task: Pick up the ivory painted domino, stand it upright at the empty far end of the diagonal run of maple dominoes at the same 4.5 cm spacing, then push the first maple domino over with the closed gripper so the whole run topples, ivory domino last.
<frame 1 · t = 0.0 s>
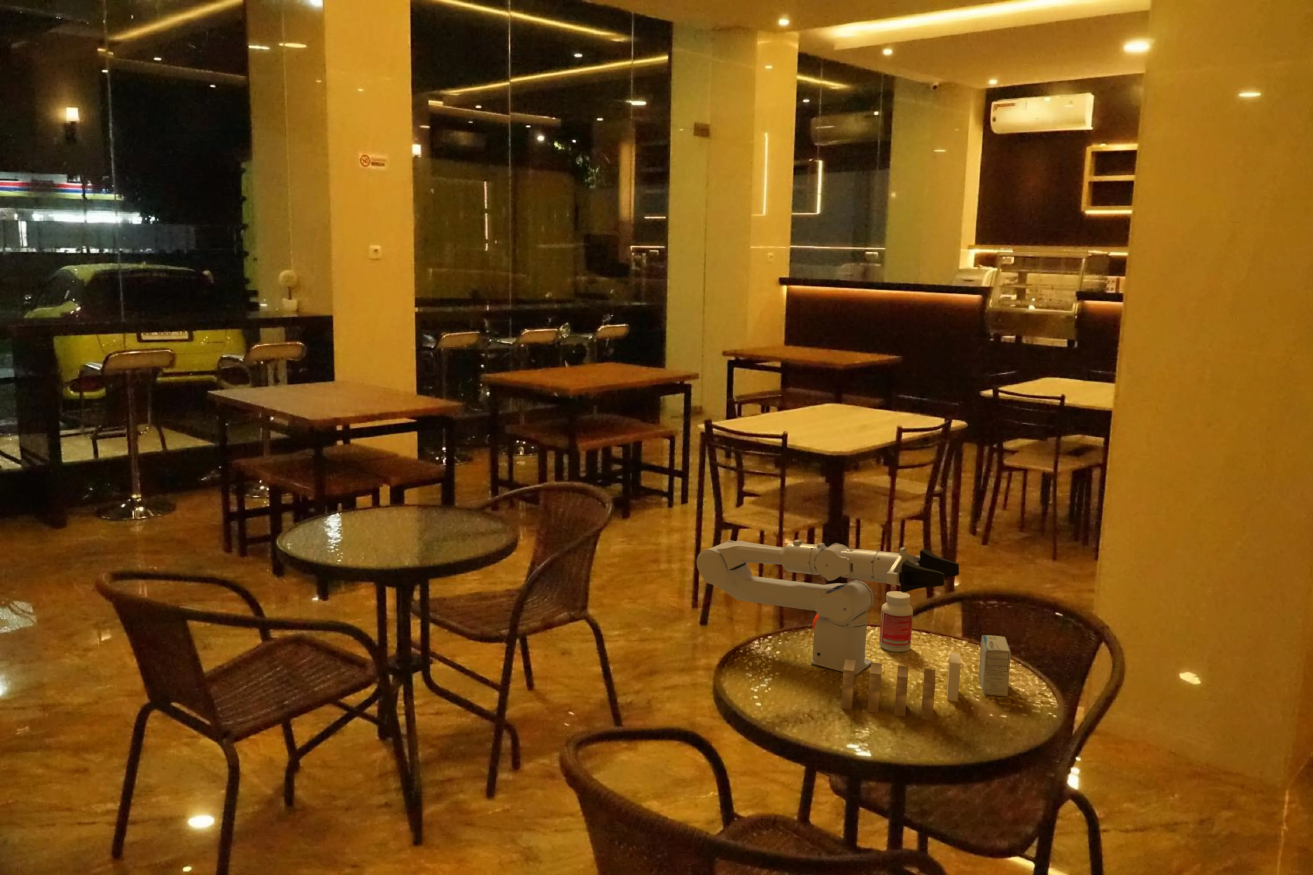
hand: (951, 574, 185), 22 cm above the table, tool horizontal, fingers open, 7 cm apart
domino 3: (900, 709, 179), on the table
domino 2: (873, 706, 180), on the table
medicine box: (992, 688, 190), on the table
pill bottle: (894, 648, 209), on the table
end domino: (952, 695, 186), on the table
domino 4: (926, 713, 178), on the table
domino 1: (847, 702, 182), on the table
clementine: (829, 641, 211), on the table
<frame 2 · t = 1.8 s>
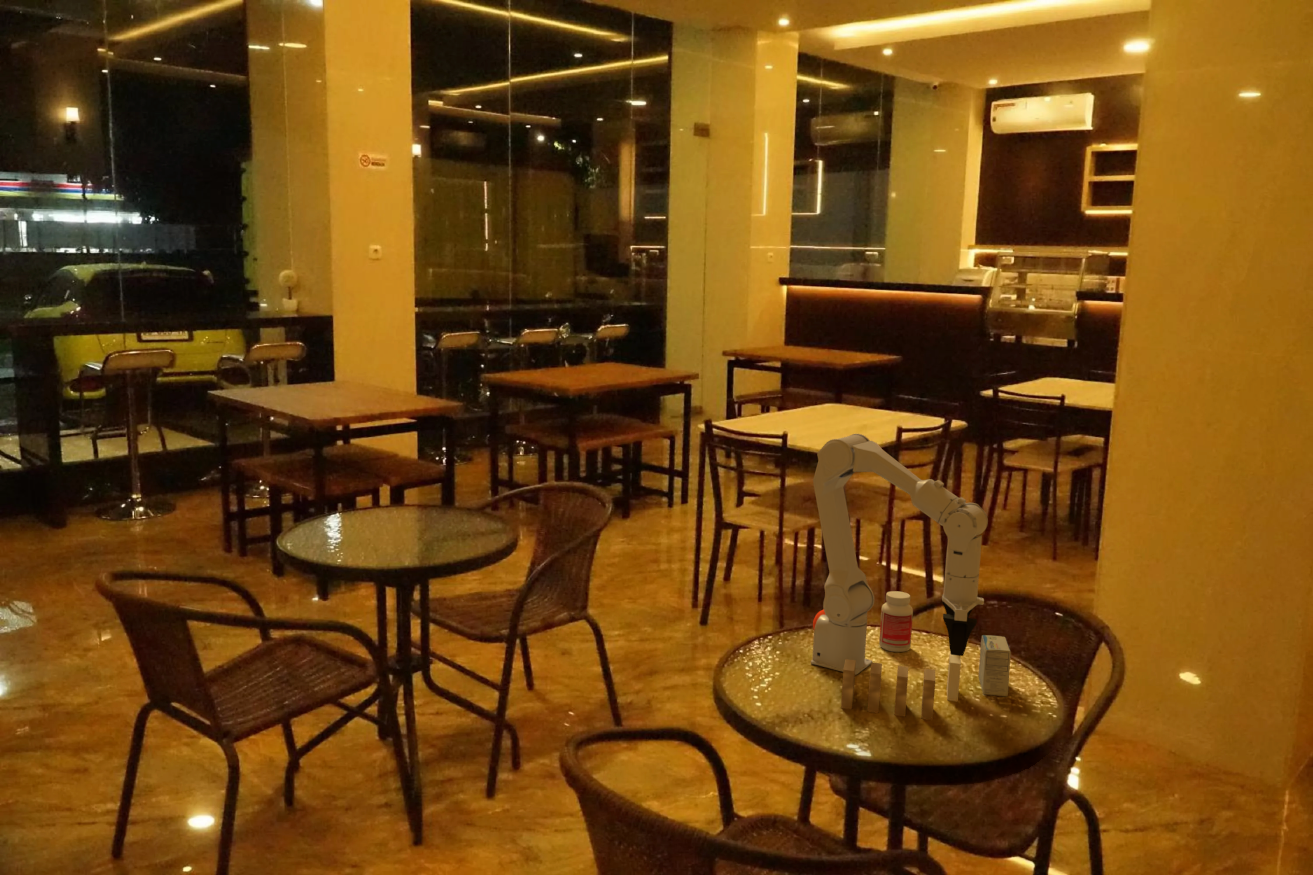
hand: (956, 646, 185), 9 cm above the table, tool pointing down, fingers open, 7 cm apart
nothing on the table moved.
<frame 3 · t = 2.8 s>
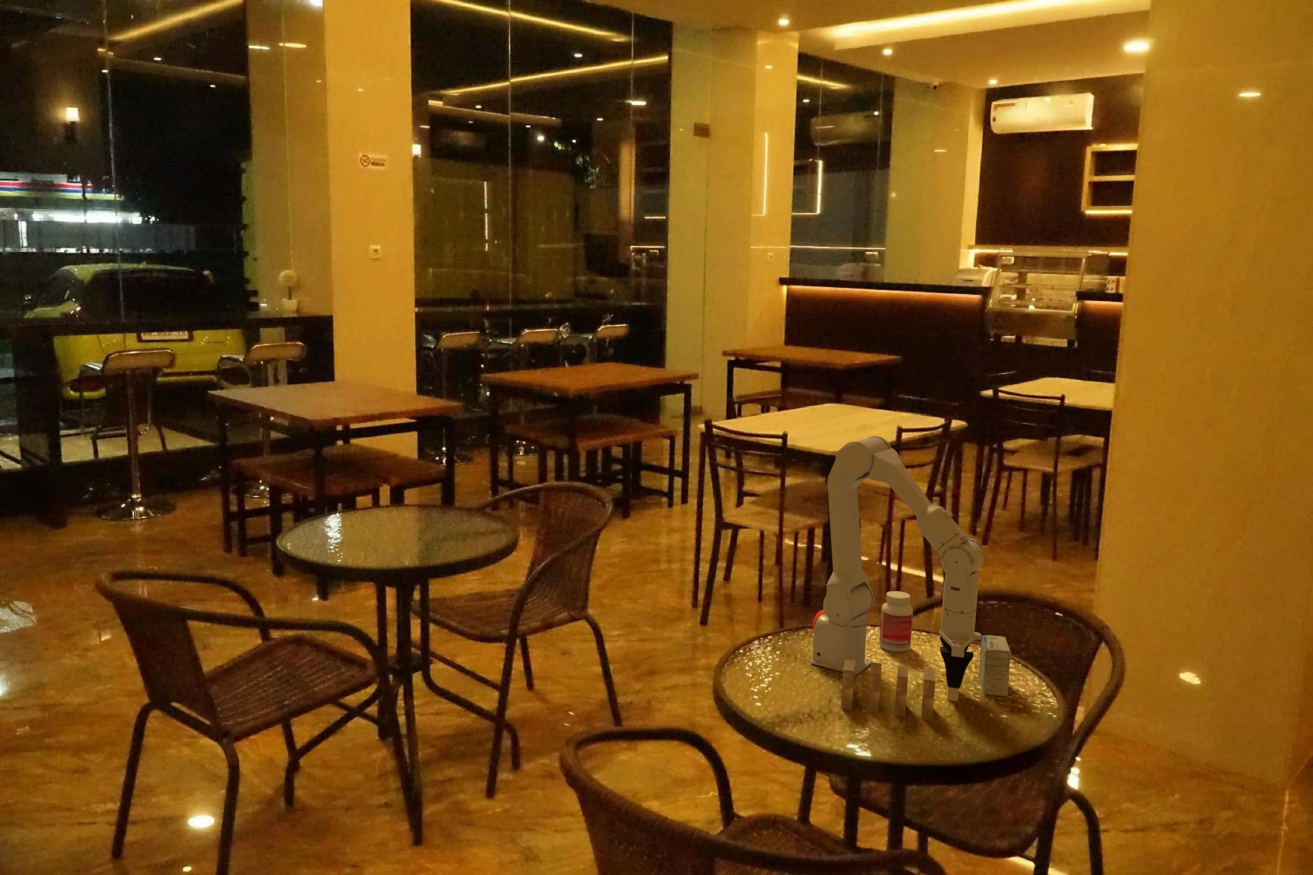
hand: (953, 681, 186), 3 cm above the table, tool pointing down, fingers closed on end domino, 5 cm apart
end domino: (952, 695, 186), on the table, touching gripper
everything else where it was.
when the fingers open (4 cm above the table, at t = 7.3 s): end domino drops 1 cm, on the table.
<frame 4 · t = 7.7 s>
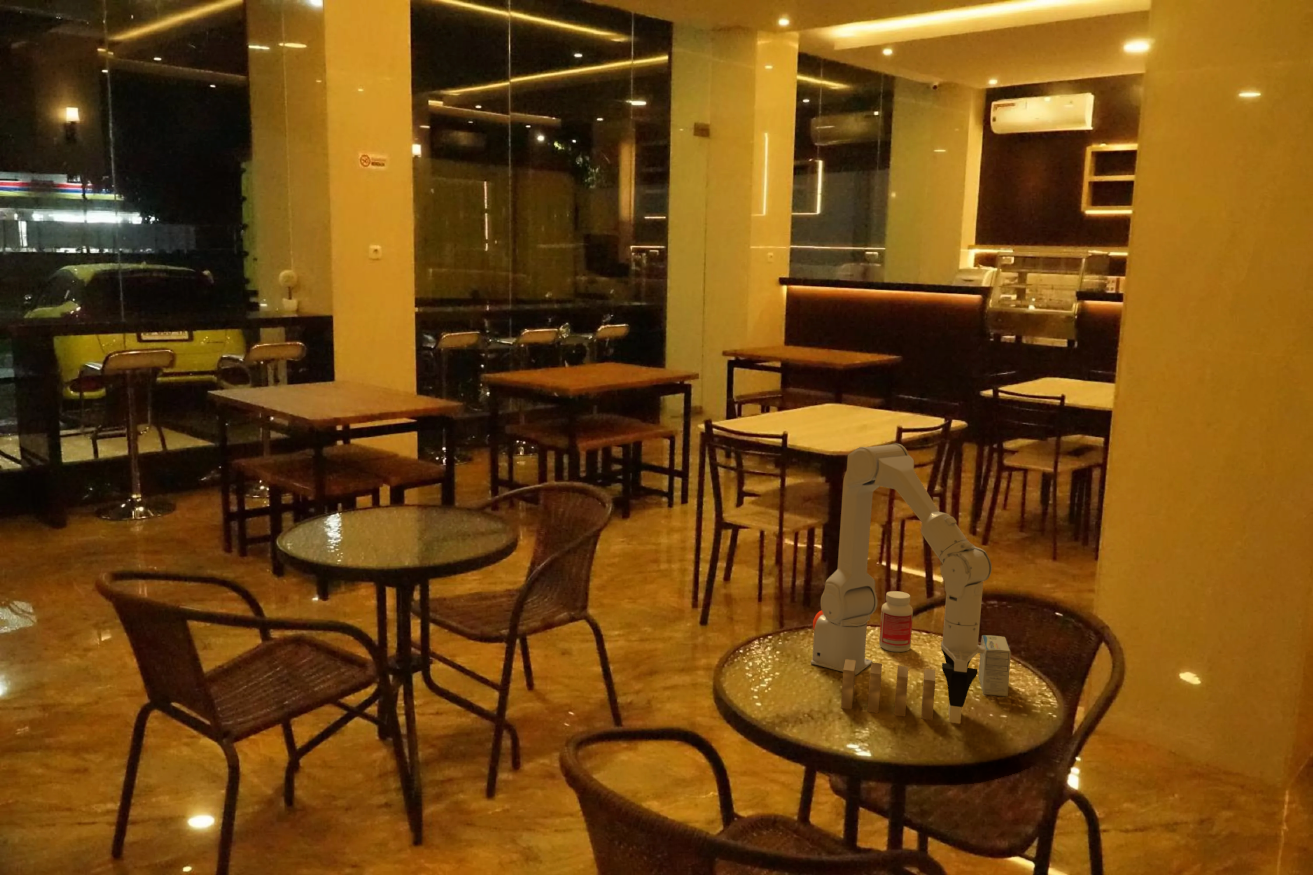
hand: (955, 696, 177), 4 cm above the table, tool pointing down, fingers open, 7 cm apart
end domino: (954, 716, 177), on the table
everything else where it was.
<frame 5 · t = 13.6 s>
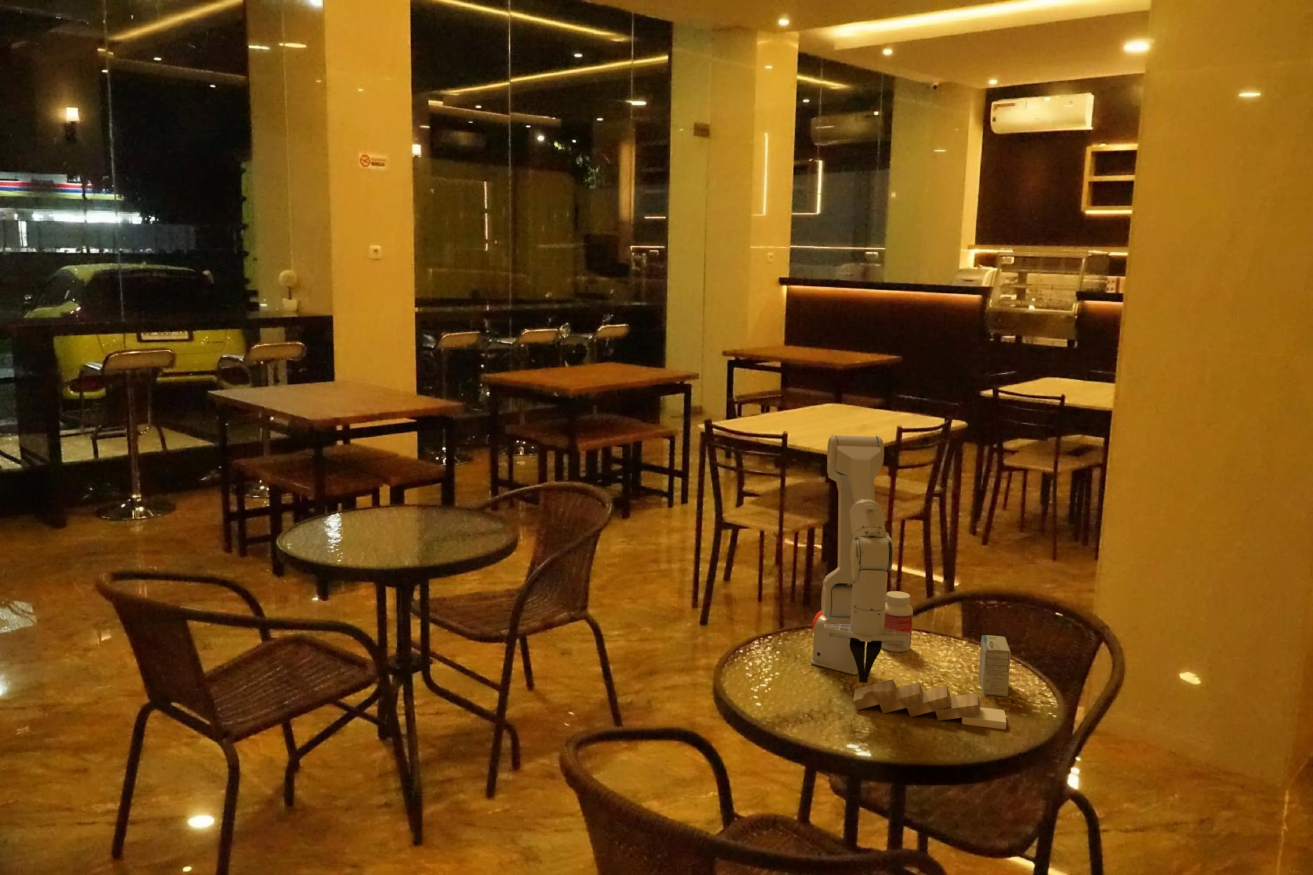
hand: (863, 680, 180), 4 cm above the table, tool pointing down, fingers closed
domino 3: (908, 706, 179), point 1 cm above the table, tilted 67°, touching domino 2, domino 4
domino 2: (881, 702, 180), point 1 cm above the table, tilted 66°, touching domino 1, domino 3
end domino: (961, 715, 177), on the table, tilted 90°, touching domino 4
domino 4: (937, 709, 178), point 1 cm above the table, tilted 72°, touching domino 3, end domino
domino 1: (855, 699, 181), point 1 cm above the table, tilted 66°, touching domino 2
everything else where it was.
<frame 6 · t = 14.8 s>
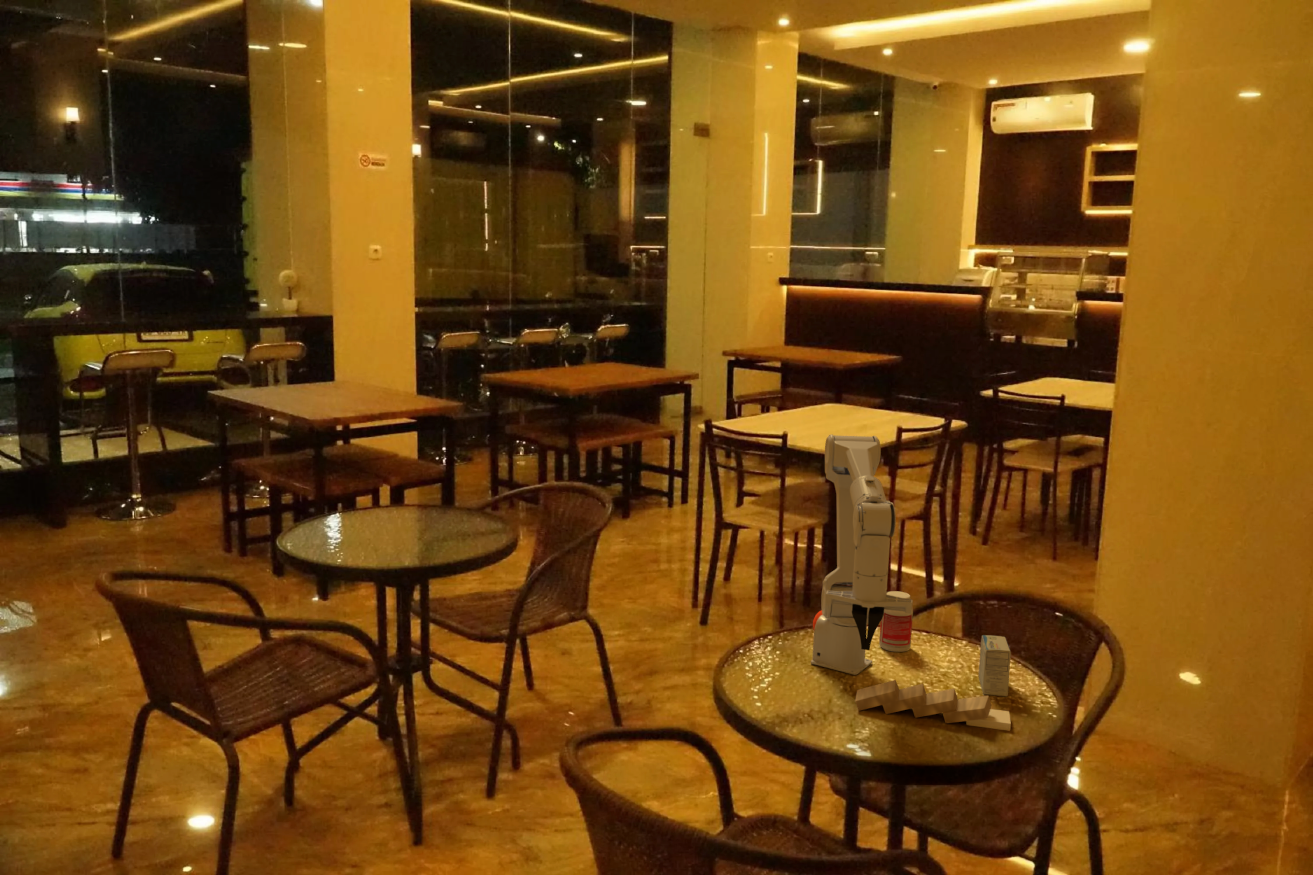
hand: (865, 647, 179), 10 cm above the table, tool pointing down, fingers closed
domino 3: (914, 706, 179), point 1 cm above the table, tilted 69°, touching domino 2
domino 4: (946, 711, 177), point 1 cm above the table, tilted 70°, touching end domino
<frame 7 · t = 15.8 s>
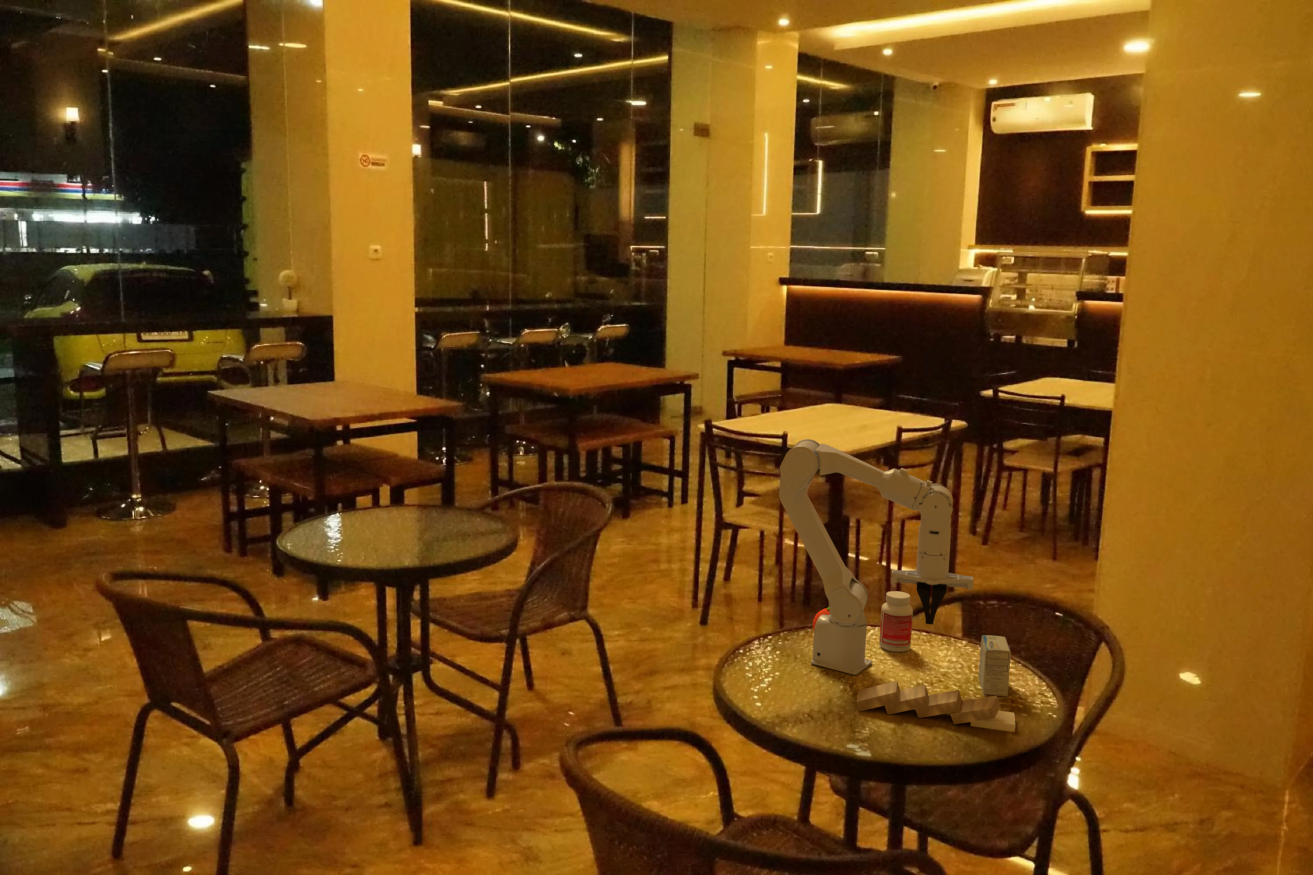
hand: (929, 622, 193), 10 cm above the table, tool pointing down, fingers closed
domino 3: (918, 707, 178), point 1 cm above the table, tilted 69°, touching domino 4
domino 2: (886, 703, 180), point 1 cm above the table, tilted 69°, touching domino 1
domino 4: (955, 712, 176), point 1 cm above the table, tilted 67°, touching domino 3, end domino
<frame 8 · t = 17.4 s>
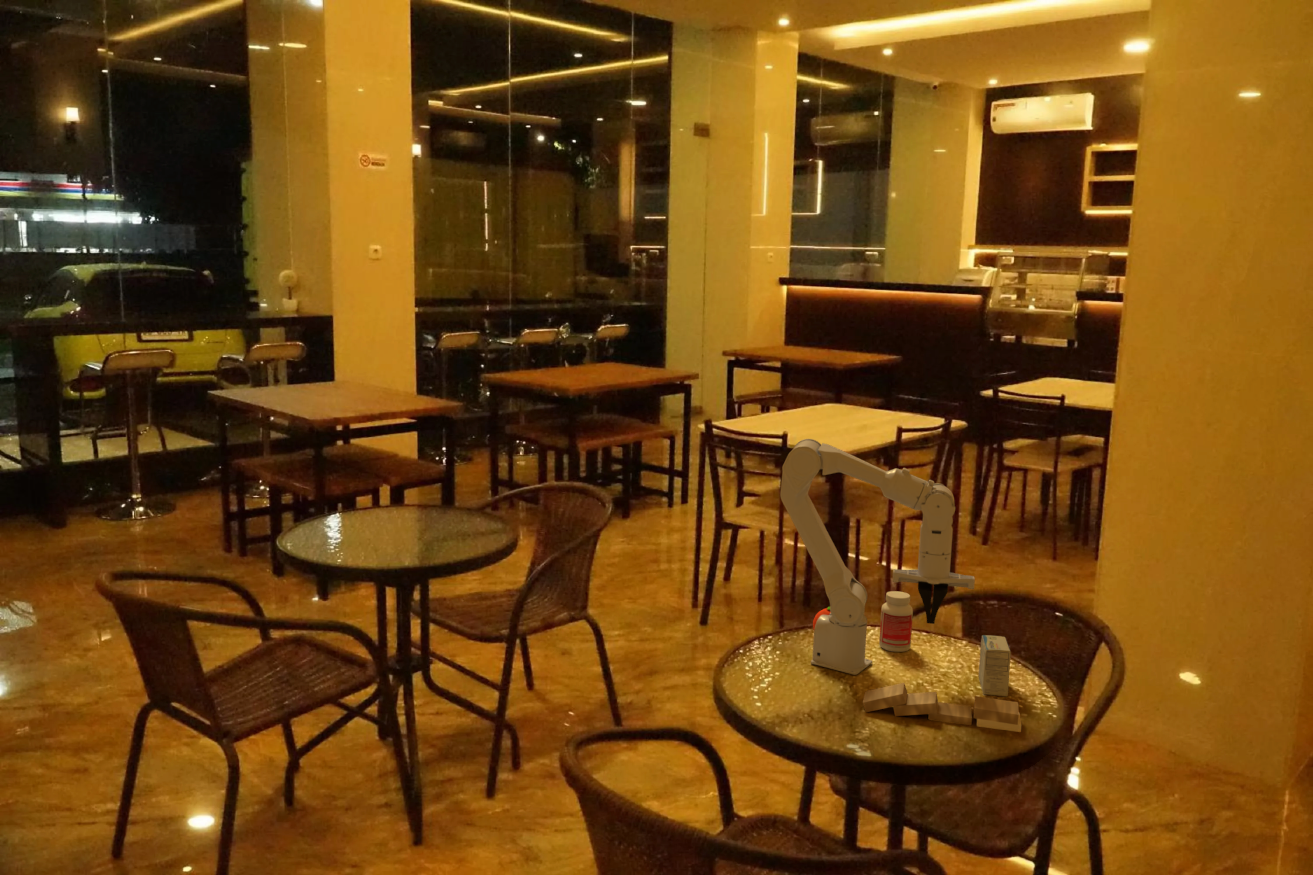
hand: (930, 621, 193), 10 cm above the table, tool pointing down, fingers closed
domino 3: (928, 711, 178), on the table, tilted 90°
domino 2: (895, 705, 179), point 1 cm above the table, tilted 77°, touching domino 1
domino 4: (974, 706, 176), point 2 cm above the table, tilted 90°, touching end domino
domino 1: (865, 701, 180), point 1 cm above the table, tilted 69°, touching domino 2
at the end: domino 1 tilted 69°; end domino tilted 90°; end domino inside the target area (2.8 cm from its centre), on the table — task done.
